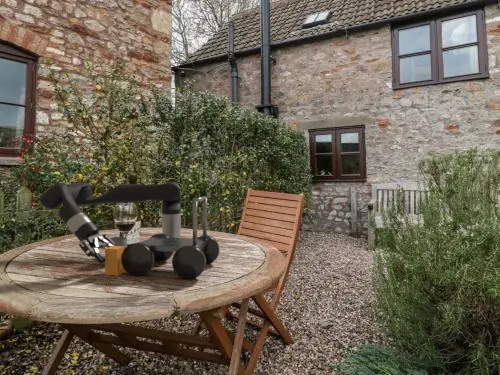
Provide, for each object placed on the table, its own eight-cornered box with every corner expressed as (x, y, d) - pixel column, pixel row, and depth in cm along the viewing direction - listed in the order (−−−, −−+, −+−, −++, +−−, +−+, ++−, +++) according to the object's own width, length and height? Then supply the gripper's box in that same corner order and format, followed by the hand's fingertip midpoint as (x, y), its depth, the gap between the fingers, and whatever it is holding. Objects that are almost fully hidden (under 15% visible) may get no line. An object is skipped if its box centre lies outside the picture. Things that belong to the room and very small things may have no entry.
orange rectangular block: (105, 275, 120) (105, 248, 120) (112, 271, 124) (112, 245, 124) (117, 276, 119) (117, 249, 119) (124, 272, 124) (124, 246, 123)
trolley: (121, 275, 120) (120, 197, 119) (148, 259, 141) (148, 194, 140) (204, 280, 115) (204, 199, 113) (219, 264, 136) (219, 195, 134)
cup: (110, 259, 141) (109, 237, 141) (129, 259, 142) (129, 236, 141) (103, 265, 133) (102, 241, 132) (123, 264, 133) (123, 240, 133)
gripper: (88, 230, 130) (114, 260, 129) (62, 237, 116) (91, 271, 115) (100, 218, 129) (127, 248, 128) (76, 223, 115) (105, 257, 114)
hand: (110, 259), depth 121 cm, fingers open, 8 cm apart
